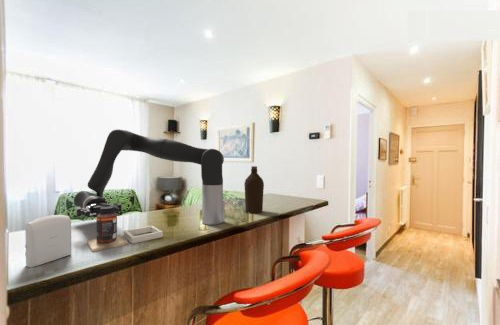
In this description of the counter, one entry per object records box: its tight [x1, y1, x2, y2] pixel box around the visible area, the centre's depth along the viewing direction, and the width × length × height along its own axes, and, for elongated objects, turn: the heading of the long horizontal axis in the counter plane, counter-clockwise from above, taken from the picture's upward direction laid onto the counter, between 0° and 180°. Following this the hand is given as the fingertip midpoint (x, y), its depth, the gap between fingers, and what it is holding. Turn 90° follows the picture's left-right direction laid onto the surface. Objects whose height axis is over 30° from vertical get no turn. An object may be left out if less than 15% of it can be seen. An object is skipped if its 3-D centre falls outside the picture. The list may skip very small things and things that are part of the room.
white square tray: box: [123, 225, 164, 244], centre depth 89 cm, size 10×10×2 cm
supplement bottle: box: [95, 206, 118, 243], centre depth 81 cm, size 6×6×11 cm
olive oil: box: [244, 165, 265, 214], centre depth 133 cm, size 11×11×25 cm
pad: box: [86, 234, 129, 252], centre depth 81 cm, size 10×11×1 cm
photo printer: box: [25, 214, 72, 268], centre depth 67 cm, size 10×4×12 cm, turn 156°
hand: (103, 212), depth 85 cm, fingers open, 8 cm apart
